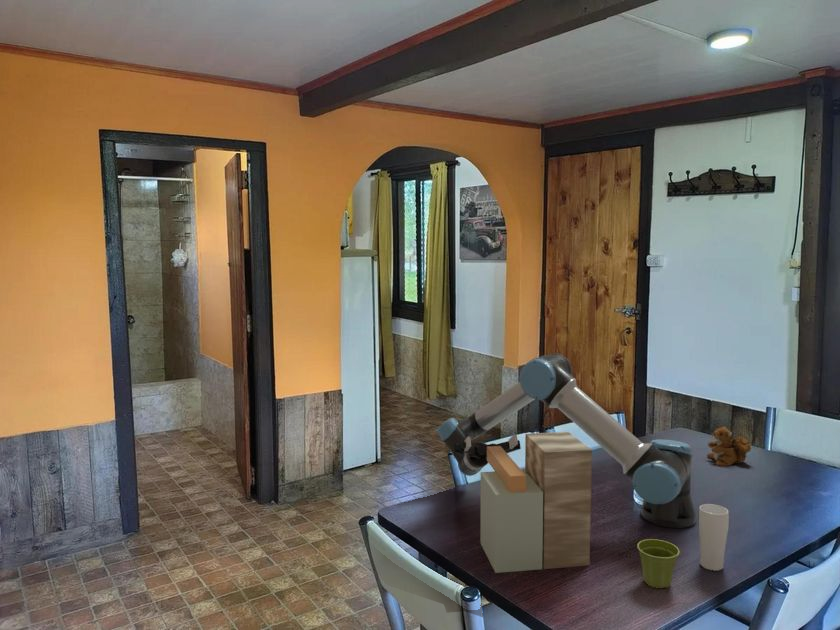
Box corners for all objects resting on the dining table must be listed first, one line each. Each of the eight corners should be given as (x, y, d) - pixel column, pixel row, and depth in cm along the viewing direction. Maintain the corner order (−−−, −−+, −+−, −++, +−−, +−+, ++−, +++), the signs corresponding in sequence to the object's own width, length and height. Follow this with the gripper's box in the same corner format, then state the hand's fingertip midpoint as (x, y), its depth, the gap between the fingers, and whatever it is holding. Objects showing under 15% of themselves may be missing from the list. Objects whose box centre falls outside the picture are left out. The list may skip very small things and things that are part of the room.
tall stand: (524, 540, 173) (525, 433, 170) (566, 536, 174) (568, 431, 171) (543, 569, 157) (545, 452, 154) (589, 565, 158) (591, 450, 155)
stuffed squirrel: (704, 456, 241) (706, 423, 239) (744, 458, 238) (746, 424, 237) (711, 465, 231) (712, 430, 230) (753, 467, 228) (754, 432, 227)
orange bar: (486, 460, 178) (486, 446, 178) (500, 459, 179) (500, 445, 179) (510, 492, 155) (510, 476, 154) (525, 491, 155) (526, 475, 155)
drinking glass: (729, 574, 153) (732, 515, 152) (700, 572, 155) (702, 513, 153) (722, 561, 160) (724, 504, 159) (694, 558, 161) (696, 502, 160)
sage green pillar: (480, 543, 171) (480, 472, 169) (523, 540, 173) (523, 469, 171) (495, 572, 155) (495, 494, 153) (542, 569, 157) (543, 491, 155)
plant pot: (674, 597, 144) (675, 561, 143) (632, 586, 149) (633, 551, 148) (681, 579, 152) (682, 544, 151) (641, 569, 157) (642, 535, 156)
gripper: (517, 465, 197) (537, 451, 178) (439, 470, 194) (451, 455, 175) (514, 442, 200) (533, 425, 181) (437, 446, 197) (448, 429, 178)
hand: (492, 440), depth 178 cm, fingers open, 13 cm apart
